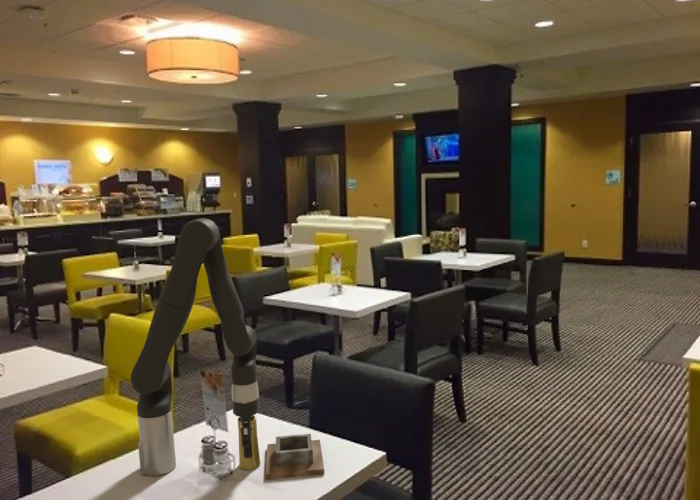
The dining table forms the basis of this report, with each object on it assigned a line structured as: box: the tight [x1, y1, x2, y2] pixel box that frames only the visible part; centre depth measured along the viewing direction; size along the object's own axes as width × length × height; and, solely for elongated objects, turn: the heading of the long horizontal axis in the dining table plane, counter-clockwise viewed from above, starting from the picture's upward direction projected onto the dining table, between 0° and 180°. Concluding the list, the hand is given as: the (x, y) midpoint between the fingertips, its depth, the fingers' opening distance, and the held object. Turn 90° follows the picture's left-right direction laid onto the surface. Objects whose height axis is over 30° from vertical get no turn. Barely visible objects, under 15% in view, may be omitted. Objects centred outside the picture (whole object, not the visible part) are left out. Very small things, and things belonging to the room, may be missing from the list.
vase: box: [237, 415, 261, 471], centre depth 169 cm, size 6×6×14 cm
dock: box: [265, 433, 325, 481], centre depth 171 cm, size 16×18×6 cm
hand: (248, 451), depth 169 cm, fingers closed on vase, 5 cm apart
